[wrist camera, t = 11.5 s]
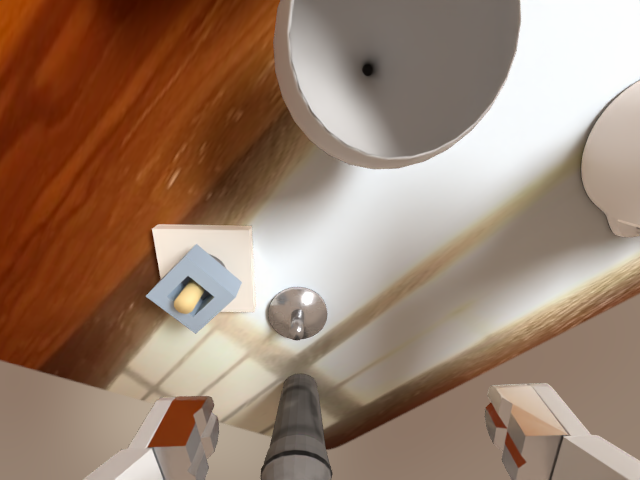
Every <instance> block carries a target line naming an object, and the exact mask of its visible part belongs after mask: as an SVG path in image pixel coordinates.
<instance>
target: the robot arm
mask: <svg viewBox="0 0 640 480" xmlns="http://www.w3.org/2000/svg"><path fill="white" fill-rule="evenodd" d="M581 174H582V181H583V185H584V188H585V191H586V193H587V195H588V196H589V198H590V199H591V201H592V202H593V203H594V204H595V205H596V206H597V207H599V208H600V209H601V210H602V211H603V212H604V213H605V214H606V216H607V219H608V222H609V226H610V228H611V230H612V232H613V233H614V234H615V235H618V236H622V237H635V236H640V81H638V82H636V83H635V84H633V85H632V86H630V87H629V88H628V89H626V90H625V91H624V92H622V93H621V94H620V95H619V96H618V97H617V98H616V99H615V100H614V101H613V102H612V103H611V104H610V105H609V106H608V107H607V108H606V109H605V111H604V112H603V113H602V115H601V116H600V117H599V119H598V120H597V122H596V123H595V125H594V127H593V129H592V131H591V133H590V135H589V137H588V139H587V142H586V145H585V148H584V152H583V157H582V165H581ZM488 397H489V399H490V401H491V403H490V404H489V405H488V406H487V407H486V410H485V420H486V427H487V430H488V433H489V436H490V438H491V440H492V442H493V444H494V445H496V446H497V447H498V448H499V449H501V450H502V451H503V455H502V462H503V464H504V466H505V468H506V470H507V472H508V474H509V475H510V477H511V480H640V461H639V460H637V459H636V458H634V457H633V456H631V455H629V454H628V453H626V452H624V451H623V450H621V449H619V448H618V447H616V446H615V445H613V444H611V443H609V442H608V441H606V440H604V439H603V438H601V437H600V436H598V435H591V434H590V433H589V432H588V430H587V429H586V428H585V427H584V426H583V424H582V423H581V422H580V421H579V419H578V418H577V417H576V416H575V415H574V413H573V412H572V411H571V410H570V409H569V407H568V406H567V405H566V404H565V403H564V401H563V400H562V399H561V398H560V397H559V395H558V394H557V393H556V392H555V390H554V389H553V388H552V387H551V386H550V385H548V384H547V383H538V384H537V383H536V384H512V385H492V386H491V387H490V388H489V390H488ZM213 407H214V403H213V400H212V397H209V396H189V397H160V398H159V399H158V400H157V401H156V402H155V403H154V405H153V407H152V408H151V410H150V412H149V413H148V415H147V417H146V418H145V420H144V421H143V423H142V425H141V427H140V428H139V430H138V431H137V433H136V435H135V437H134V438H133V440H132V441H131V443H130V445H129V447H128V448H127V449H122V450H120V451H119V452H118V453H116V454H115V455H114V456H112V457H111V458H110V459H109V460H107V461H106V462H105V463H103V464H102V465H101V466H100V467H99V468H97V469H96V470H95V471H93V472H92V473H91V474H89V475H88V476H87V477H86V478H84V479H83V480H205V477H206V475H207V472H208V469H209V466H208V463H207V459H208V458H209V457H210V456H211V455H212V454H213V453H214V451H215V448H216V445H217V441H218V434H219V422H218V418H217V416H216V415H215V414H214V413H212V410H213Z"/></svg>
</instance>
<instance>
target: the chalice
mask: <svg viewBox="0 0 640 480" xmlns="http://www.w3.org/2000/svg"><path fill="white" fill-rule="evenodd" d="M520 25H521V7H520V0H280V3H279V6H278V10H277V18H276V26H275V34H274V42H273V44H274V58H275V72H276V76H277V79H278V83H279V87H280V90H281V94H282V97H283V100H284V102H285V104H286V106H287V108H288V110H289V112H290V114H291V115H292V117H293V119H294V121H295V123H296V124H297V125H298V126H299V127H300V129H301V130H302V131H303V132H304V134H305V135H306V136H307V137H308V138H309V140H310V141H312V142H313V143H314V144H315V145H317V146H318V147H319V148H321V149H322V150H323V151H324V152H326V153H327V154H328V155H330V156H332V157H334V158H337V159H339V160H341V161H343V162H345V163H348V164H350V165H355V166H360V167H365V168H370V169H395V168H401V167H405V166H409V165H413V164H416V163H420V162H424V161H426V160H428V159H430V158H432V157H434V156H436V155H438V154H440V153H442V152H444V151H446V150H447V149H449V148H450V147H452V146H453V145H454V144H455V143H457V142H458V141H459V140H460V139H462V138H463V137H464V136H465V135H467V134H468V133H469V132H470V131H472V130H473V128H474V127H475V126H476V125H477V124H478V123H479V121H480V120H481V119H482V118H483V117H484V116H485V114H486V113H487V112H488V111H489V110H490V108H491V106H492V105H493V103H494V101H495V99H496V98H497V96H498V94H499V93H500V91H501V89H502V87H503V86H504V84H505V82H506V80H507V77H508V74H509V71H510V68H511V66H512V63H513V60H514V57H515V54H516V51H517V44H518V38H519V31H520Z"/></svg>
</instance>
